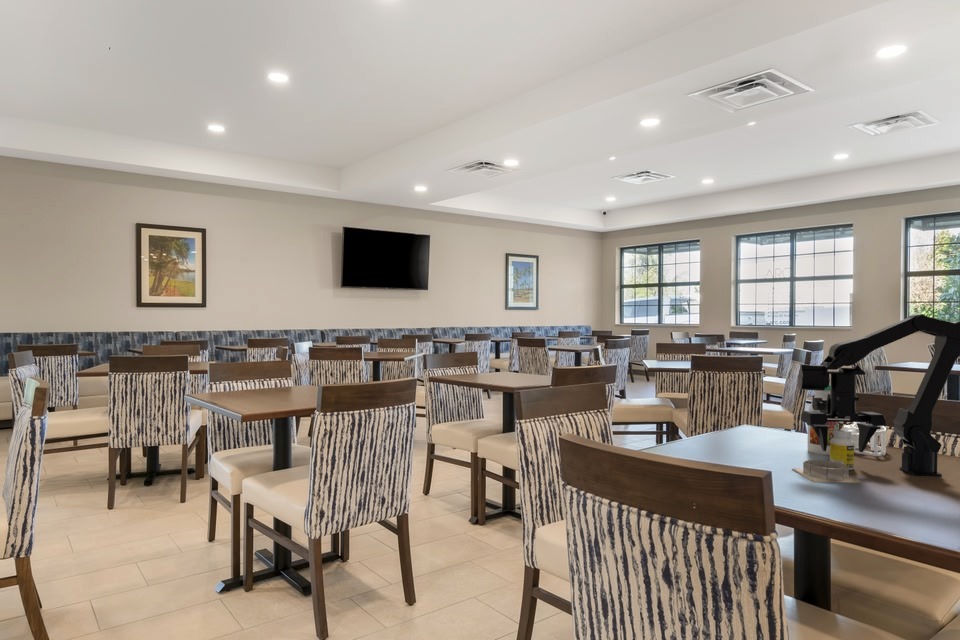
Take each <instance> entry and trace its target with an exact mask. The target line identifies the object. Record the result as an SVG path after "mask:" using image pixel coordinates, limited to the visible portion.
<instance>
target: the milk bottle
mask: <svg viewBox="0 0 960 640" xmlns="http://www.w3.org/2000/svg"><path fill="white" fill-rule="evenodd" d="M813 391H814V396H813V398H822V400H827V396H828V394H830V384H829V387H827V388H825V390H824V391H818V390H813ZM808 411H818V412H820V410H813V407H812V402H811V403H810V405H809V408H808ZM835 418H836V417H835ZM825 426H828V437H827V448H826V451H823V450H822V448H821V445H820V443H819V440H818V437H817V435H816V433H815V431H814V429H813V428H812V427H811V426H809V425H807V451H808V453H812V454H816V455H823V456H830V440H831V439H832V438H834V437H835V436H834V430H839V422H827V423H826V424H825Z"/></svg>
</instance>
